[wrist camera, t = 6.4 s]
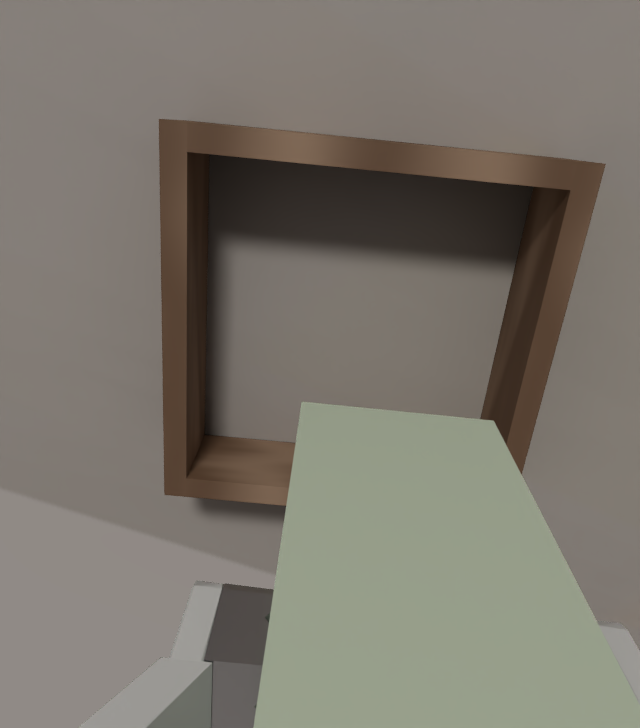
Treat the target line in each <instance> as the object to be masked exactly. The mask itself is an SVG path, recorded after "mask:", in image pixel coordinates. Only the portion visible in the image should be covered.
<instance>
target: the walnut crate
mask: <svg viewBox="0 0 640 728" xmlns="http://www.w3.org/2000/svg"><path fill="white" fill-rule="evenodd" d="M209 154H213V155H223V156H233V157H243V158H253V159H263V160H273V161H283V162H293V163H303V164H313V165H323V166H333V167H343V168H353V169H363V170H373V171H383V172H394V173H404V174H414V175H424V176H434V177H444V178H454V179H464V180H474V181H484V182H494V183H504V184H514V185H524V186H534V187H533V191H532V195H531V200H530V204H529V209H528V213H527V217H526V222H525V226H524V230H523V235H522V239H521V244H520V248H519V252H518V257H517V261H516V266H515V270H514V274H513V279H512V283H511V288H510V292H509V296H508V301H507V305H506V309H505V314H504V318H503V323H502V327H501V331H500V336H499V340H498V345H497V349H496V353H495V358H494V362H493V366H492V371H491V375H490V380H489V384H488V388H487V393H486V397H485V402H484V406H483V410H482V415H481V419H482V420H492V421H494V422H495V424H496V426H497V428H498V430H499V432H500V434H501V436H502V438H503V440H504V442H505V444H506V446H507V448H508V449H509V451H510V453H511V455H512V457H513V459H514V461H515V463H516V465H517V467H518V469H519V471H520V473H521V475H522V471H523V467H524V464H525V460H526V456H527V453H528V449H529V445H530V441H531V438H532V434H533V430H534V427H535V423H536V419H537V416H538V412H539V408H540V405H541V401H542V397H543V393H544V390H545V386H546V382H547V379H548V375H549V371H550V368H551V364H552V360H553V357H554V353H555V349H556V345H557V342H558V338H559V334H560V331H561V327H562V323H563V320H564V316H565V312H566V309H567V305H568V301H569V297H570V294H571V290H572V286H573V283H574V279H575V275H576V272H577V268H578V264H579V261H580V257H581V253H582V250H583V246H584V242H585V238H586V235H587V231H588V227H589V224H590V220H591V216H592V213H593V209H594V205H595V202H596V198H597V194H598V190H599V187H600V183H601V179H602V176H603V172H604V168H605V165H606V164H602V163H594V162H586V161H579V160H571V159H563V158H553V157H543V156H533V155H523V154H513V153H503V152H493V151H483V150H474V149H464V148H454V147H444V146H434V145H424V144H414V143H404V142H394V141H384V140H374V139H364V138H354V137H344V136H334V135H325V134H315V133H305V132H295V131H285V130H275V129H265V128H255V127H245V126H235V125H225V124H215V123H205V122H195V121H185V120H167V119H159V155H160V223H161V290H162V357H163V425H164V492H165V495H173V496H184V497H195V498H206V499H217V500H228V501H239V502H250V503H262V504H273V505H284V506H286V505H287V498H288V491H289V484H290V478H291V471H292V464H293V457H294V451H295V444H296V443H289V442H278V441H267V440H256V439H246V438H235V437H224V436H213V435H205V385H206V326H207V267H208V208H209Z"/></svg>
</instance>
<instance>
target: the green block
mask: <svg viewBox="0 0 640 728" xmlns="http://www.w3.org/2000/svg"><path fill="white" fill-rule="evenodd" d="M253 728H640V705H639V703H638V701H637V699H636V697H635V695H634V693H633V691H632V689H631V687H630V685H629V683H628V681H627V679H626V677H625V675H624V673H623V672H622V670H621V668H620V666H619V664H618V662H617V660H616V658H615V656H614V654H613V652H612V650H611V648H610V646H609V644H608V642H607V640H606V638H605V636H604V635H603V633H602V631H601V629H600V627H599V625H598V623H597V621H596V619H595V617H594V615H593V613H592V611H591V609H590V607H589V605H588V603H587V601H586V599H585V598H584V596H583V594H582V592H581V590H580V588H579V586H578V584H577V582H576V580H575V578H574V576H573V574H572V572H571V570H570V568H569V566H568V564H567V562H566V560H565V559H564V557H563V555H562V553H561V551H560V549H559V547H558V545H557V543H556V541H555V539H554V537H553V535H552V533H551V531H550V529H549V527H548V525H547V523H546V522H545V520H544V518H543V516H542V514H541V512H540V510H539V508H538V506H537V504H536V502H535V500H534V498H533V496H532V494H531V492H530V490H529V488H528V486H527V485H526V483H525V481H524V479H523V477H522V475H521V473H520V471H519V469H518V467H517V465H516V463H515V461H514V459H513V457H512V455H511V453H510V451H509V449H508V448H507V446H506V444H505V442H504V440H503V438H502V436H501V434H500V432H499V430H498V428H497V426H496V424H495V422H494V421H492V420H482V419H472V418H462V417H452V416H442V415H432V414H422V413H411V412H401V411H391V410H381V409H371V408H361V407H351V406H341V405H330V404H320V403H310V402H302V403H301V410H300V417H299V424H298V430H297V437H296V444H295V451H294V457H293V464H292V471H291V478H290V484H289V491H288V498H287V505H286V511H285V518H284V525H283V531H282V538H281V545H280V552H279V558H278V565H277V572H276V579H275V586H274V592H273V599H272V606H271V612H270V619H269V626H268V633H267V639H266V646H265V653H264V660H263V666H262V673H261V680H260V687H259V693H258V700H257V707H256V714H255V720H254V727H253Z"/></svg>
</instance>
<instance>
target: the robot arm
mask: <svg viewBox="0 0 640 728" xmlns="http://www.w3.org/2000/svg"><path fill="white" fill-rule="evenodd" d="M273 592H274V590H273V589H264V588H257V587H249V586H241V585H232V584H219V583H212V582H204V581H196V583H195V584H194V586H193V588H192V590H191V593H190V596H189V599H188V602H187V605H186V608H185V612H184V614H183V618H182V620H181V623H180V626H179V630H178V633H177V636H176V639H175V642H174V645H173V648H172V651H171V654H170V657H169V658H163V657H161V658H159V659H158V660H157V661H156V662H155V663H153V664H152V665H151V666H150V667H149V668H147V669H146V670H145V671H144V672H143V673H142V674H140V675H139V676H138V677H137V678H136V679H135V680H133V681H132V682H131V683H130V684H129V685H127V686H126V687H125V688H124V689H123V690H122V691H120V692H119V693H118V694H117V695H116V696H114V697H113V698H112V699H111V700H110V701H109V702H108V703H106V704H105V705H104V706H103V707H102V708H100V709H99V710H98V711H97V712H96V713H95V714H93V715H92V716H91V717H90V718H89V719H87V720H86V721H85V722H84V723H83V724H82V725H80V727H78V728H253V727H254V720H255V714H256V707H257V700H258V693H259V687H260V680H261V673H262V666H263V660H264V653H265V646H266V639H267V633H268V626H269V619H270V612H271V606H272V599H273ZM597 623H598V625H599V627H600V629H601V631H602V633H603V635H604V636H605V638H606V640H607V642H608V644H609V646H610V648H611V650H612V652H613V654H614V656H615V658H616V660H617V662H618V664H619V666H620V668H621V670H622V672H623V673H624V675H625V677H626V679H627V681H628V683H629V685H630V687H631V689H632V691H633V693H634V695H635V697H636V699H637V701H638V703H639V705H640V651H639V649H638V647H637V646H636V644H635V642H634V640H633V639H632V637H631V635H630V633H629V632H628V630H627V628H626V627H624V626H623V625H622V624H621V623H615V622H604V621H597Z"/></svg>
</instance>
